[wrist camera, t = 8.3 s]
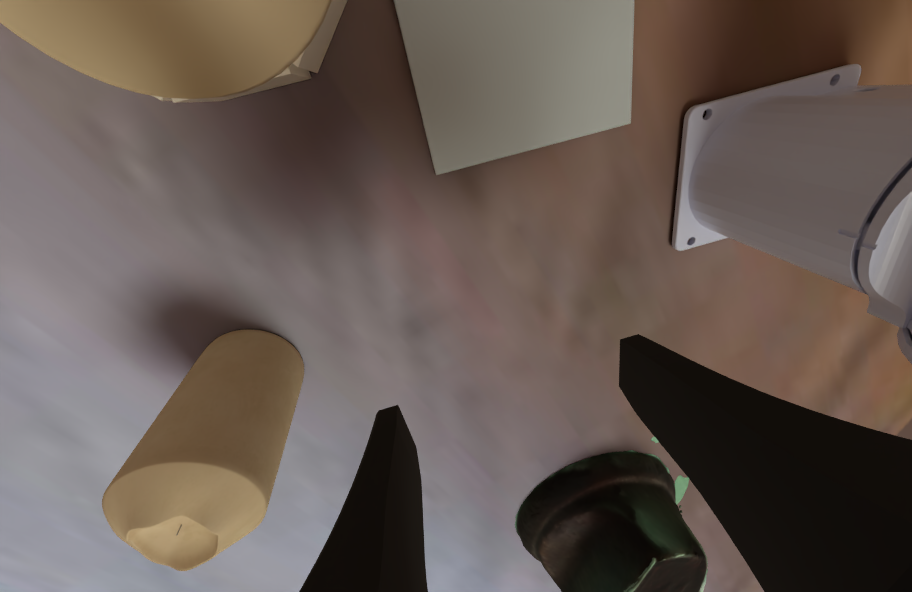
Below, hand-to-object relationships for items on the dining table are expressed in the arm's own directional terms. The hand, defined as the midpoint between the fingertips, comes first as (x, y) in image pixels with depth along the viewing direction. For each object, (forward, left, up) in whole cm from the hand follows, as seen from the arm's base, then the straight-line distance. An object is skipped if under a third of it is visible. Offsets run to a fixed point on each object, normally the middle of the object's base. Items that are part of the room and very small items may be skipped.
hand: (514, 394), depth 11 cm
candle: (+13, +3, -11) cm, 17 cm away
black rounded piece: (-8, +29, -11) cm, 32 cm away
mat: (-5, -10, -10) cm, 15 cm away
